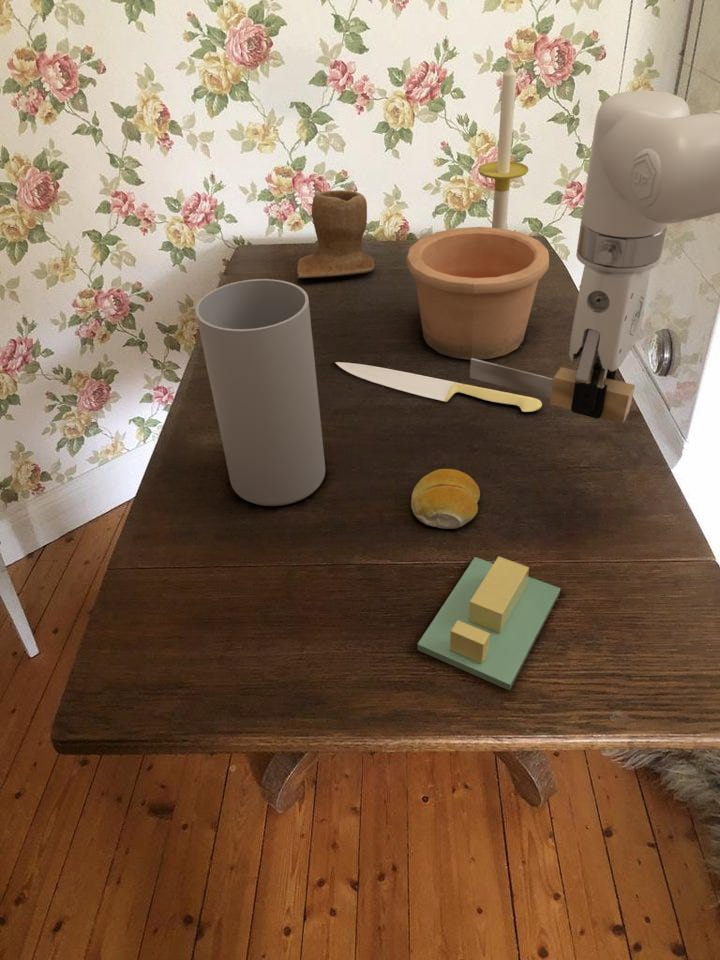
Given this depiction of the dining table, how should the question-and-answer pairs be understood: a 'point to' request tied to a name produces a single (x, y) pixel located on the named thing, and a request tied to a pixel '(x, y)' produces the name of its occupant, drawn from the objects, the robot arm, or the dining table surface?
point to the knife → (435, 386)
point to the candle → (504, 152)
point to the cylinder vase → (264, 388)
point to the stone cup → (337, 236)
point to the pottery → (476, 289)
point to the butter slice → (469, 641)
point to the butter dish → (498, 644)
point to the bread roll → (445, 499)
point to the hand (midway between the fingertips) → (590, 405)
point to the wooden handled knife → (555, 387)
